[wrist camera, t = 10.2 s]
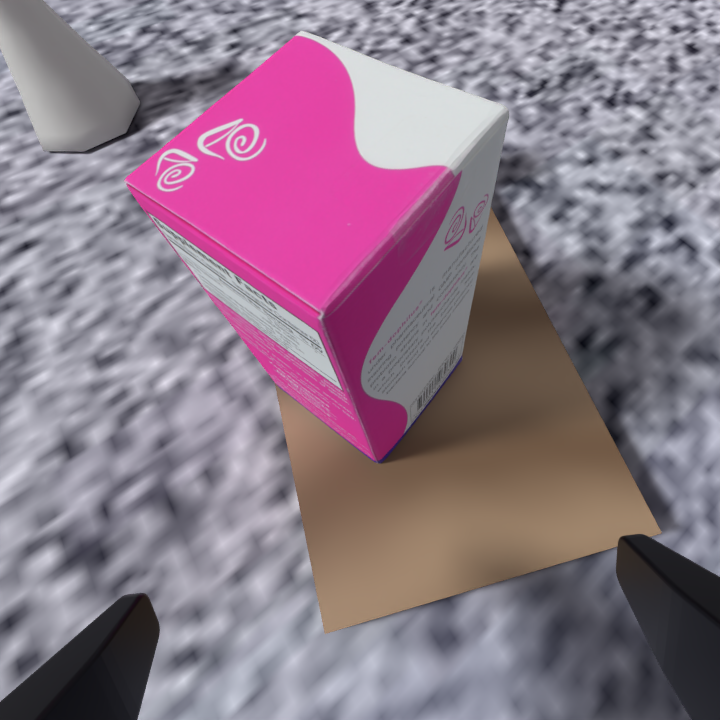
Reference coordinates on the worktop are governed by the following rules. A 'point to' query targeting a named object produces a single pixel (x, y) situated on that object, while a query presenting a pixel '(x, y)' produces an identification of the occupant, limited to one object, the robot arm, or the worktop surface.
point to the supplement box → (336, 227)
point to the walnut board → (467, 470)
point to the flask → (63, 79)
